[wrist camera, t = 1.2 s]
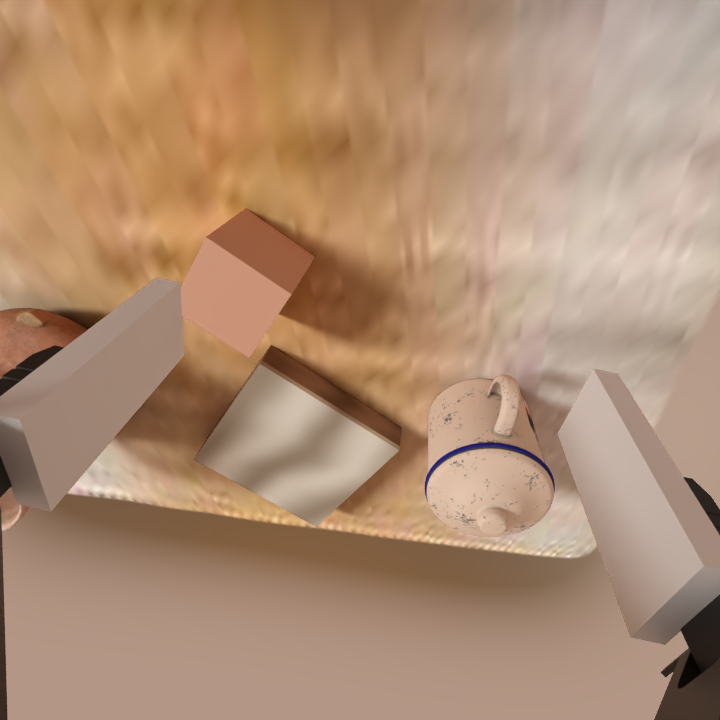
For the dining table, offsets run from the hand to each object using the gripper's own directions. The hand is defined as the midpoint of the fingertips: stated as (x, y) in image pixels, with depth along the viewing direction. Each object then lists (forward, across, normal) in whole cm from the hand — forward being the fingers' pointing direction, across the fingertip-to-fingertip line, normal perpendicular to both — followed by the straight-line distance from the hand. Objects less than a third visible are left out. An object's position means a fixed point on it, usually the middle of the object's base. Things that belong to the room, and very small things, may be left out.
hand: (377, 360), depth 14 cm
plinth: (+20, -5, -23) cm, 31 cm away
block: (+20, -10, -6) cm, 23 cm away
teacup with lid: (+20, +10, -15) cm, 27 cm away
